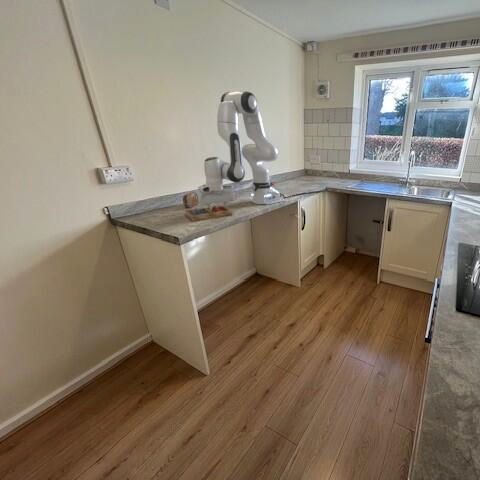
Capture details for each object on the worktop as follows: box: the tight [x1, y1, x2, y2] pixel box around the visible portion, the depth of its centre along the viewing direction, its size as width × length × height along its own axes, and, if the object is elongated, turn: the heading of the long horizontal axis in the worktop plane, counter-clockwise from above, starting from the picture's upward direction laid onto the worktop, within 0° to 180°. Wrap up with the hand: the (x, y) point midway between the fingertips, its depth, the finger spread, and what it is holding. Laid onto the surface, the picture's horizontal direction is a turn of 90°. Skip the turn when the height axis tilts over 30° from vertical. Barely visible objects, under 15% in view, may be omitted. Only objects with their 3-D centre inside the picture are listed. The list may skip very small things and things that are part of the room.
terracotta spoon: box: [213, 205, 222, 212], centre depth 154 cm, size 10×4×3 cm, turn 39°
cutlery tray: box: [184, 205, 233, 222], centre depth 151 cm, size 22×14×3 cm, turn 129°
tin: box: [182, 191, 199, 209], centre depth 168 cm, size 15×3×8 cm, turn 179°
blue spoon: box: [194, 207, 203, 215], centre depth 148 cm, size 10×4×3 cm, turn 38°
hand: (217, 209), depth 154 cm, fingers open, 6 cm apart
